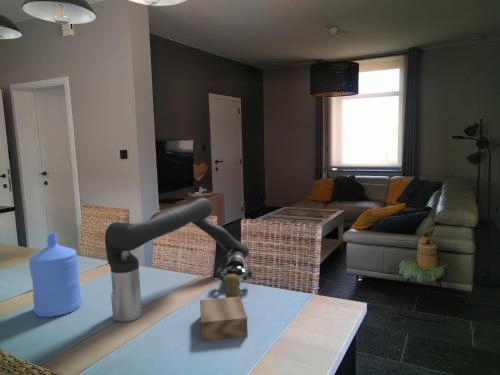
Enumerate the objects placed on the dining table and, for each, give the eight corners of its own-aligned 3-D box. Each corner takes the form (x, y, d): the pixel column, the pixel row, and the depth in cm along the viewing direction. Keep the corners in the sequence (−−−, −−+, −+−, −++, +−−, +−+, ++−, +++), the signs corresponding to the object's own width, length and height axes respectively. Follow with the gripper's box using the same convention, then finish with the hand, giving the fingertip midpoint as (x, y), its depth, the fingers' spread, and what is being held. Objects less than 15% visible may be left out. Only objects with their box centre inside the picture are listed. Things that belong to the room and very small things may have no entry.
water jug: (91, 303, 141) (84, 231, 138) (54, 321, 127) (46, 242, 123) (62, 297, 148) (56, 228, 144) (24, 314, 134) (16, 238, 130)
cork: (238, 307, 133) (237, 278, 132) (222, 306, 135) (221, 277, 133) (242, 300, 139) (241, 272, 138) (227, 299, 140) (226, 271, 139)
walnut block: (201, 341, 112) (200, 322, 111) (200, 316, 127) (199, 300, 127) (247, 336, 114) (247, 317, 113) (240, 312, 129) (240, 296, 129)
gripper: (219, 257, 160) (214, 269, 144) (252, 256, 160) (251, 269, 144) (219, 273, 161) (215, 288, 145) (252, 273, 161) (252, 287, 144)
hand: (233, 278), depth 144 cm, fingers open, 8 cm apart
